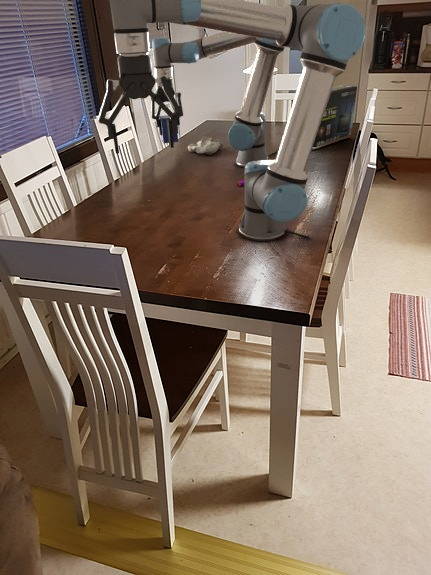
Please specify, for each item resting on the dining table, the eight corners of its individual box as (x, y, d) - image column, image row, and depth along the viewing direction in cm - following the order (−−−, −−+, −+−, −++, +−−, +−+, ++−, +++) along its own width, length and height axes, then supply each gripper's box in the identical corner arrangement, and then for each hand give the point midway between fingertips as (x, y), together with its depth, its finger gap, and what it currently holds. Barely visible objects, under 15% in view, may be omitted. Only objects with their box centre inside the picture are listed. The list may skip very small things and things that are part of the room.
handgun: (238, 184, 192) (238, 179, 191) (256, 182, 193) (256, 177, 192) (251, 201, 174) (250, 196, 173) (270, 198, 175) (270, 193, 174)
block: (161, 140, 212) (158, 116, 207) (175, 138, 214) (173, 114, 208) (163, 143, 207) (161, 118, 201) (178, 141, 208) (176, 117, 203)
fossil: (211, 149, 226) (191, 129, 229) (201, 167, 233) (181, 148, 236) (230, 147, 240) (211, 129, 243) (220, 164, 247) (201, 146, 250)
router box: (314, 151, 231) (318, 94, 217) (296, 148, 237) (299, 92, 224) (352, 138, 251) (358, 85, 238) (335, 135, 258) (340, 83, 245)
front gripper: (77, 59, 98) (94, 158, 109) (191, 52, 103) (196, 147, 114) (77, 56, 104) (93, 150, 115) (184, 50, 109) (190, 141, 120)
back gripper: (142, 81, 191) (148, 137, 203) (188, 77, 196) (191, 133, 207) (139, 79, 198) (146, 134, 210) (184, 76, 202) (188, 129, 214)
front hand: (144, 149), depth 115 cm, fingers open, 13 cm apart
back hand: (168, 133), depth 209 cm, fingers closed on block, 7 cm apart
